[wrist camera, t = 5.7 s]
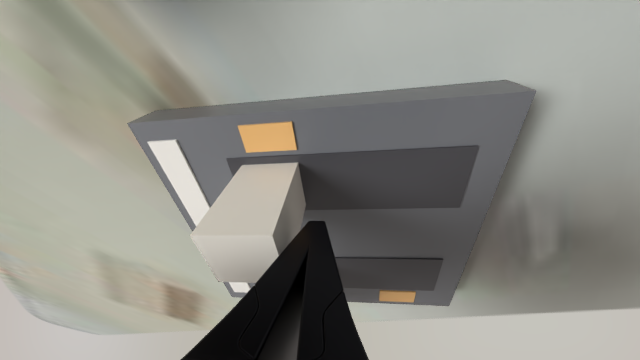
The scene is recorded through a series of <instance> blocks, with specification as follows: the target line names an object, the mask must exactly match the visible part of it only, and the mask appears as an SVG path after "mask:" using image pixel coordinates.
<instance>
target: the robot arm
mask: <svg viewBox="0 0 640 360" xmlns="http://www.w3.org/2000/svg"><path fill="white" fill-rule="evenodd" d="M181 360H369V359H368V357H367V354H366V352H365V350H364V347H363V345H362V342H361V340H360V337H359V335H358V332H357V330H356V327H355V324H354V322H353V319H352V316H351V313H350V310H349V307H348V303H347V300H346V296H345V293H344V289H343V285H342V282H341V278H340V274H339V270H338V267H337V263H336V259H335V256H334V252H333V248H332V245H331V241H330V237H329V233H328V230H327V226H326V222H325V221H308V222H307V223H306V224H305V226H304V227H303V228H302V229H301V230H300V232H299V233H298V234H297V235H296V236H295V237H294V239H293V240H292V241H291V242H290V243H289V244H288V246H287V247H286V248H285V249H284V250H283V251H282V253H281V254H280V255H279V256H278V257H277V259H276V260H275V261H274V262H273V263H272V264H271V266H270V267H269V268H268V269H267V270H266V271H265V273H264V274H263V275H262V276H261V277H260V278H259V280H258V281H257V282H256V283H255V286H253V287H252V288H251V289H250V290H249V291H248V292H247V294H246V295H245V296H244V297H243V298H242V299H241V300H240V301H239V303H238V304H237V305H236V306H235V307H234V308H233V309H232V310H231V311H230V312H229V313H228V314H227V315H226V316H225V317H224V318H223V319H222V320H221V321H220V322H219V323H218V324H217V325H216V326H215V327H214V328H213V329H212V330H211V331H210V332H209V333H208V334H207V335H206V336H205V337H204V338H203V339H202V340H201V341H200V342H199V343H198V344H197V345H196V346H195V347H194V348H193V349H192V350H191V351H190V352H189V353H188V354H186V355H185V356H184V357H183V358H182V359H181Z"/></svg>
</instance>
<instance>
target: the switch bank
mask: <svg viewBox="0 0 640 360" xmlns="http://www.w3.org/2000/svg"><path fill="white" fill-rule="evenodd" d="M535 93H536V90H533V89H530V88H527V87H525V86H522V85H519V84H516V83H513V82H511V81H508V80H501V81H489V82H478V83H466V84H455V85H443V86H432V87H421V88H409V89H398V90H386V91H375V92H363V93H352V94H341V95H329V96H318V97H306V98H295V99H284V100H272V101H261V102H249V103H238V104H226V105H215V106H204V107H192V108H181V109H169V110H158V111H154V112H151V113H149V114H147V115H145V116H143V117H140V118H138V119H136V120H134V121H132V122H129V123H127V124H128V126H129V127H130V129H131V131H132V132H133V134H134V136H135V137H136V139H137V141H138V142H139V144H140V145H141V147H142V149H143V150H144V152H145V154H146V155H147V157H148V159H149V160H150V162H151V164H152V165H153V167H154V169H155V170H156V172H157V174H158V175H159V177H160V179H161V180H162V182H163V184H164V185H165V187H166V188H167V190H168V192H169V193H170V195H171V197H172V198H173V200H174V202H175V203H176V205H177V207H178V208H179V210H180V212H181V213H182V215H183V217H184V218H185V220H186V222H187V223H188V225H189V227H190V228H191V230H192V232H193V230H194V229H195V228H196V226H197V225H198V224H199V222H200V221H201V220H202V218H203V217H204V216H205V214H206V213H207V212H208V210H209V209H210V208H211V206H212V205H213V203H214V202H215V201H216V199H217V198H218V197H219V195H220V194H221V193H222V191H223V190H224V189H225V187H226V186H227V185H228V183H229V182H230V181H231V179H232V178H233V177H234V175H235V174H236V172H237V171H238V170H239V168H240V167H241V166H242V165H255V164H277V163H298V165H299V170H300V176H301V181H302V186H303V192H304V197H305V203H306V207H305V211H304V216H303V220H302V225H301V229H302V228H303V227H304V226H305V224H306V223H307V222H308V221H325V222H326V226H327V230H328V233H329V237H330V241H331V245H332V248H333V252H334V256H335V259H336V263H337V267H338V270H339V274H340V278H341V282H342V285H343V289H344V293H345V296H346V300H347V302H365V303H389V304H413V305H437V306H449V305H450V302H451V300H452V297H453V295H454V292H455V290H456V288H457V285H458V283H459V280H460V278H461V275H462V273H463V270H464V268H465V265H466V263H467V260H468V258H469V256H470V253H471V251H472V248H473V246H474V243H475V241H476V238H477V236H478V233H479V231H480V228H481V226H482V224H483V221H484V219H485V216H486V214H487V211H488V209H489V206H490V204H491V201H492V199H493V196H494V194H495V192H496V189H497V187H498V184H499V182H500V179H501V177H502V174H503V172H504V169H505V167H506V164H507V162H508V160H509V157H510V155H511V152H512V150H513V147H514V145H515V142H516V140H517V137H518V135H519V132H520V130H521V128H522V125H523V123H524V120H525V118H526V115H527V113H528V110H529V108H530V105H531V103H532V101H533V98H534V96H535ZM301 229H300V230H301ZM223 283H224V284H225V286H226V288H227V289H228V291H229V293H230V294H231V296H232V297H244V296H245V295H246V294H247V292H248V291H249V290H250V289H251V288H252V287H253V286H255V283H243V282H223Z"/></svg>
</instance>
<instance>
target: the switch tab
mask: <svg viewBox="0 0 640 360" xmlns="http://www.w3.org/2000/svg"><path fill="white" fill-rule="evenodd" d="M305 207H306V203H305V197H304V192H303V186H302V181H301V176H300V170H299V165H298V163H277V164H255V165H242V166H241V167H240V168H239V170H238V171H237V172H236V174H235V175H234V177H233V178H232V179H231V181H230V182H229V183H228V185H227V186H226V187H225V189H224V190H223V191H222V193H221V194H220V195H219V197H218V198H217V199H216V201H215V202H214V203H213V205H212V206H211V208H210V209H209V210H208V212H207V213H206V214H205V216H204V217H203V218H202V220H201V221H200V222H199V224H198V225H197V226H196V228H195V229H194V230H193V232H192V233H191V235H190V237H191V239H192V240H193V242H194V243H195V245H196V247H197V248H198V250H199V251H200V253H201V255H202V256H203V258H204V259H205V261H206V263H207V264H208V266H209V267H210V269H211V271H212V272H213V274H214V275H215V277H216V279H217V280H218V282H243V283H256V282H257V281H258V280H259V278H260V277H261V276H262V275H263V274H264V273H265V271H266V270H267V269H268V268H269V267H270V266H271V264H272V263H273V262H274V261H275V260H276V259H277V257H278V256H279V255H280V254H281V253H282V251H283V250H284V249H285V248H286V247H287V246H288V244H289V243H290V242H291V241H292V240H293V239H294V237H295V236H296V235H297V234H298V233H299V232H300V229H301V225H302V220H303V216H304V211H305Z"/></svg>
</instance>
